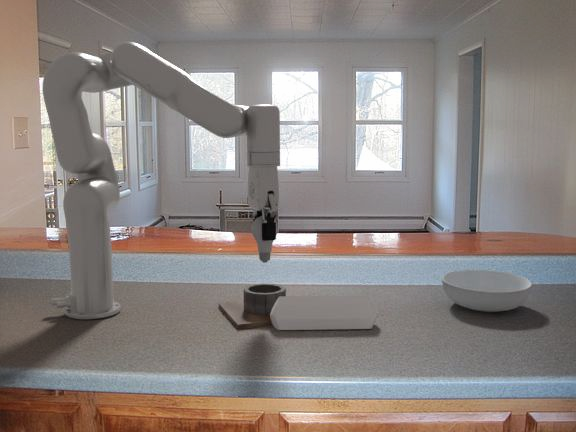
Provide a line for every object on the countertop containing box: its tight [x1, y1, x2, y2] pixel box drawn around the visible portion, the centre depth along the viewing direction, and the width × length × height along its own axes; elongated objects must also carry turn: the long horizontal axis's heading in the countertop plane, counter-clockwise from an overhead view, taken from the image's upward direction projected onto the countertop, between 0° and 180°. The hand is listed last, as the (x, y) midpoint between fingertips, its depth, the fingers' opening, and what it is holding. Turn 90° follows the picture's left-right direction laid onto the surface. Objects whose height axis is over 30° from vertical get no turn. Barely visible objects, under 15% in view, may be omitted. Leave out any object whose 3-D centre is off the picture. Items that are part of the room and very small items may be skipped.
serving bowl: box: [441, 269, 533, 313], centre depth 158 cm, size 21×21×7 cm
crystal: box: [270, 294, 379, 331], centre depth 145 cm, size 7×7×24 cm
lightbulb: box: [250, 216, 279, 263], centre depth 151 cm, size 6×6×11 cm
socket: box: [218, 282, 287, 330], centre depth 153 cm, size 18×18×6 cm
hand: (264, 237), depth 151 cm, fingers closed on lightbulb, 6 cm apart
